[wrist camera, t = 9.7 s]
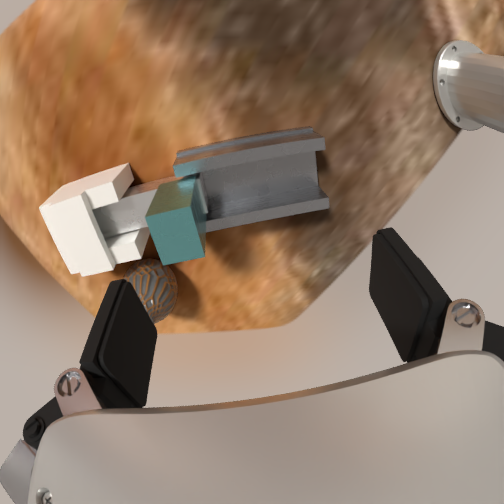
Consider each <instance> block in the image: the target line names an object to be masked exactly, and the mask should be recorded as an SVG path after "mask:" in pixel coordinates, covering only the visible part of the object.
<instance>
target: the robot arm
mask: <svg viewBox="0 0 504 504" xmlns="http://www.w3.org/2000/svg"><path fill="white" fill-rule="evenodd" d="M433 84H434V90H435V95H436V98H437V101H438V104H439V106H440V108H441V110H442V112H443V113H444V115H445V116H446V118H447V119H448V120H449V121H450V122H451V123H453V124H454V125H455V126H457V127H459V128H462V129H465V130H477V129H479V128H481V127H483V126H484V125H485V126H487V127H490V128H492V129H495V130H497V131H500V132H502V133H504V56H497V55H490V54H484V53H483V52H482V51H481V50H480V49H479V48H478V47H477V46H475V45H474V44H472V43H470V42H467V41H462V40H456V41H451V42H448V43H447V44H446V45H444V46H443V47H442V49H441V50H440V51H439V53H438V55H437V57H436V60H435V64H434V71H433ZM369 292H370V296H371V298H372V300H373V302H374V304H375V306H376V308H377V310H378V312H379V314H380V316H381V318H382V320H383V322H384V323H385V326H386V328H387V330H388V332H389V334H390V336H391V338H392V340H393V342H394V344H395V346H396V348H397V350H398V353H399V355H400V357H401V359H402V360H403V362H406V361H407V363H406V364H403V365H400V366H397V367H393V368H390V369H387V370H383V371H380V372H376V373H372V374H369V375H365V376H362V377H358V378H354V379H350V380H346V381H342V382H338V383H334V384H330V385H326V386H321V387H316V388H311V389H307V390H302V391H297V392H292V393H286V394H281V395H275V396H269V397H263V398H256V399H249V400H241V401H233V402H225V403H215V404H206V405H193V406H180V407H179V406H178V407H159V408H158V407H157V408H142V407H143V406H145V405H146V401H147V394H148V387H149V381H150V374H151V369H152V363H153V356H154V351H155V345H156V339H157V330H156V327H155V326H154V324H153V322H152V320H151V319H150V317H149V315H148V313H147V311H146V310H145V308H144V306H143V304H142V302H141V300H140V299H139V297H138V295H137V293H136V291H135V289H134V287H133V285H132V284H131V282H127V280H125V279H121V280H115V281H112V282H110V284H109V287H108V289H107V291H106V294H105V296H104V298H103V301H102V303H101V306H100V308H99V311H98V313H97V316H96V318H95V321H94V323H93V326H92V328H91V331H90V334H89V337H88V339H87V342H86V345H85V347H84V350H83V353H82V356H81V359H80V364H81V366H80V369H78V368H70V369H67V370H65V371H64V372H63V373H62V374H60V375H59V377H58V378H57V380H56V382H55V386H54V392H55V397H54V398H53V399H52V400H50V401H49V402H48V403H47V404H46V405H44V406H43V407H42V408H41V409H39V410H38V411H37V412H36V413H35V414H33V415H32V416H31V417H30V418H29V419H28V420H27V422H26V423H25V425H24V429H23V437H24V440H21V439H20V440H19V441H18V443H17V444H16V446H15V447H14V449H13V450H12V452H11V453H10V455H9V456H8V458H7V459H6V460H5V462H4V464H3V465H2V466H1V469H0V482H1V484H2V486H3V487H4V489H5V490H6V492H7V493H8V495H9V496H10V498H11V499H12V500H13V502H14V503H15V504H504V327H502V326H499V325H496V324H494V323H491V322H488V321H485V316H484V312H483V310H482V309H481V307H480V306H479V305H478V304H476V303H475V302H473V301H471V300H468V299H458V300H455V301H453V302H452V300H451V299H450V298H449V296H448V295H447V294H446V292H445V291H444V290H443V288H442V287H441V286H440V284H439V283H438V282H437V280H436V279H435V278H434V276H433V275H432V274H431V272H430V271H429V270H428V269H427V267H426V266H425V265H424V264H423V262H422V261H421V260H420V259H419V258H418V257H417V256H416V255H415V254H414V253H413V251H412V250H411V249H410V248H409V246H408V245H407V244H406V243H405V242H404V241H403V239H402V238H401V237H400V236H399V235H398V233H396V231H395V230H394V229H393V228H386V229H381V230H378V231H377V234H375V235H373V242H372V260H371V273H370V284H369Z"/></svg>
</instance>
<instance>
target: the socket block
mask: <svg viewBox="0 0 504 504" xmlns="http://www.w3.org/2000/svg"><path fill="white" fill-rule="evenodd" d="M133 180H134V178H133V175H132V172H131V169H130V165H129V163H127V164H123V165H120V166H117V167H114V168H111V169H108V170H105V171H102V172H99V173H96V174H93V175H90V176H87V177H85V178H82V179H79V180H76V181H74V182H71V183H68V184H66V185H63V186H62V187H60V188H59V189H58V190H57V191H56V192H55V193H54V194H53V195H52V196H51V197H49V198H48V199H47V200H46V201H45V202H44V203H43V204H42V205H41V206H40V207H39V209H40V211H41V214H42V216H43V218H44V220H45V223H46V225H47V227H48V229H49V231H50V233H51V236H52V238H53V240H54V242H55V244H56V246H57V248H58V250H59V252H60V254H61V256H62V258H63V260H64V262H65V263H66V265H67V267H68V269H69V271H70V273H71V274H75V273H79V272H80V273H81V275H82V277H83V276H88V275H92V274H97V273H102V272H106V271H111V270H114V267H115V265H116V264H119V263H124V262H128V261H133V260H137V259H141V258H142V255H143V252H144V249H145V246H146V243H147V240H148V238H149V235H150V230H149V228H148V227H145V228H141V229H137V230H132V231H128V232H125V233H121V234H117V235H113V236H109V237H105V238H104V237H103V235H102V233H101V230H100V228H99V226H98V223H97V221H96V218H95V216H94V213H93V211H92V209H95V208H98V207H102V206H105V205H108V204H112V203H115V202H119V200H120V199H121V198H122V196H123V195H124V193H125V192H126V190H127V189H128V187H129V186H130V185H131V183H132V182H133Z"/></svg>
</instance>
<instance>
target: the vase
mask: <svg viewBox="0 0 504 504" xmlns="http://www.w3.org/2000/svg"><path fill="white" fill-rule="evenodd" d="M123 279H125V280H127V282H131V284H132V285H133V287H134V289H135V291H136V293H137V295H138V297H139V299H140V300H141V302H142V304H143V306H144V308H145V310H146V311H147V313H148V315H149V317H150V319H151V320H152V322H153V324H155V323H157V322H159V321H161V320H163V319H164V318H166V317H167V316H168V315H169V314H170V312H171V311H172V309H173V308H174V305H175V303H176V300H177V295H178V285H177V280H176V277H175V275H174V273H173V271H172V270H171V268H170V267H169V266H168V265H163V264H162V262H161V261H159V260H156V259H143V260H140V261H138V262H136V263H135V264H133V265H132V266H131V267H130V268H129V269H128V270H127V272H126V274H125V275H124V278H123Z"/></svg>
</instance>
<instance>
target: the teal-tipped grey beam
mask: <svg viewBox="0 0 504 504" xmlns="http://www.w3.org/2000/svg"><path fill="white" fill-rule="evenodd" d="M92 211H93V213H94V216H95V218H96V221H97V223H98V226H99V228H100V230H101V233H102V235H103V237H104V238H105V237H109V236H113V235H117V234H121V233H125V232H128V231H132V230H137V229H141V228H145V227H148V228H149V230H150V233H151V236H152V238H153V241H154V244H155V246H156V249H157V252H158V254H159V257H160V259H161V262H162V264H163V265H168V264H173V263H178V262H182V261H187V260H192V259H197V258H202V257H205V243H206V213H208V197H207V193H206V189H205V185H204V181H203V177H202V173H201V172H199V173H195V174H190V175H186V176H182V177H178V178H176V176H171V177H167V178H163V179H159V180H155V181H152V182H148V183H144V184H141V185H137V186H134V187H130V188H128V189H127V190H126V192H125V193H124V195H123V196H122V198H121V199H120V200H119V202H115V203H112V204H108V205H105V206H102V207H98V208H95V209H92Z"/></svg>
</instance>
